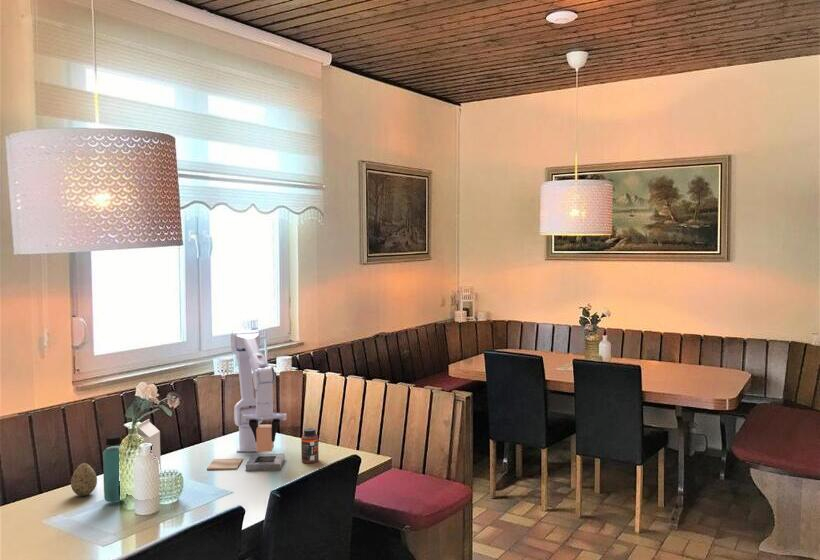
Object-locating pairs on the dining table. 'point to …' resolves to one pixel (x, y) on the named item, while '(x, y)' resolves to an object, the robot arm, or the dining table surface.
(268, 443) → the terracotta block
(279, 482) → the dining table surface
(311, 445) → the supplement bottle
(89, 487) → the decorative egg
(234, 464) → the walnut pad
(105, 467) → the beverage bottle
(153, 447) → the milk carton
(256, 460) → the square socket
